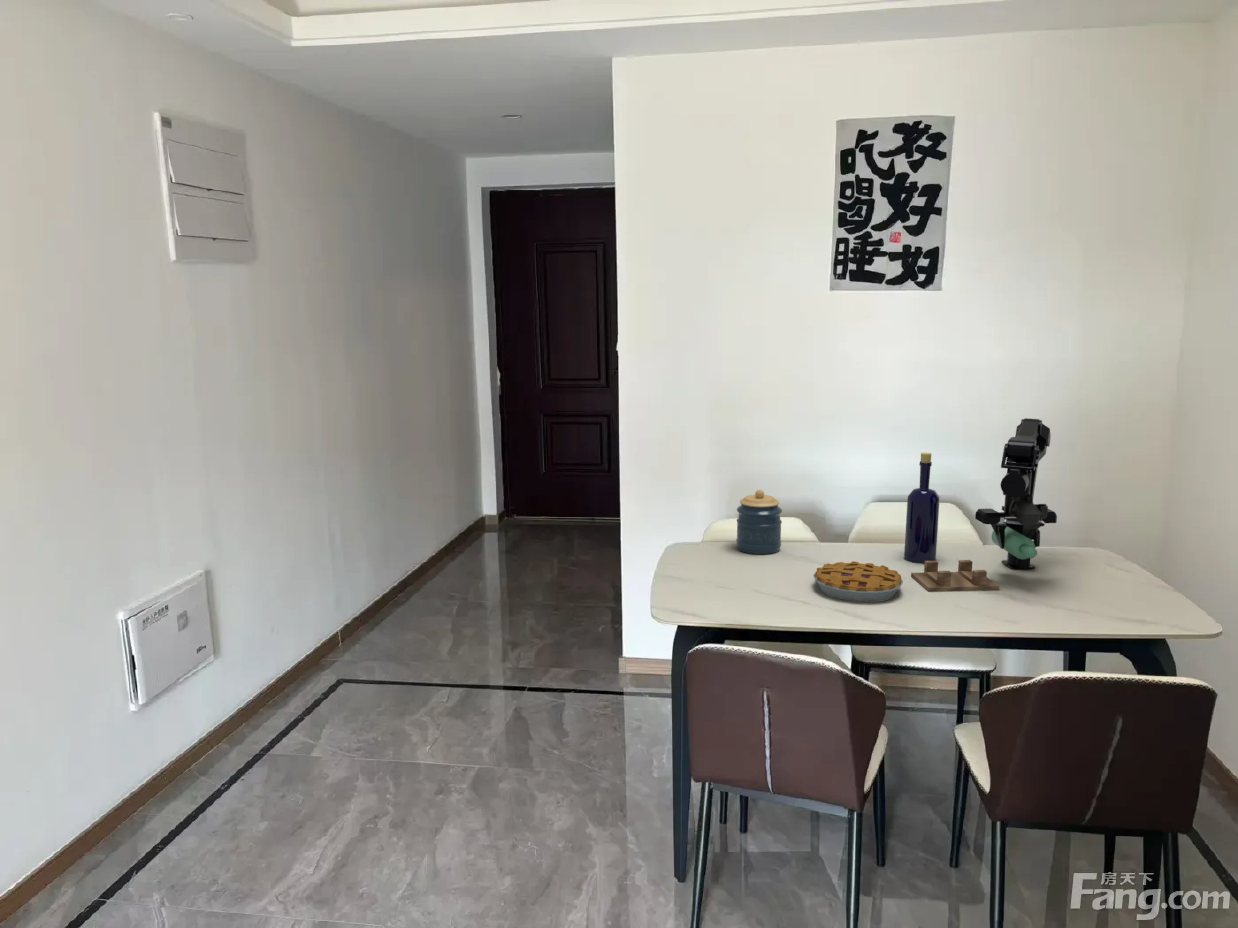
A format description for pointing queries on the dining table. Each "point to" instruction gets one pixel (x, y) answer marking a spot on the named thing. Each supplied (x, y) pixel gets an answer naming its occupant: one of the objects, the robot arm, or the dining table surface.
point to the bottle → (922, 518)
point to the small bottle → (1017, 544)
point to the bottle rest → (954, 578)
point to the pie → (858, 581)
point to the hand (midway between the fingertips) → (1013, 548)
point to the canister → (759, 524)
